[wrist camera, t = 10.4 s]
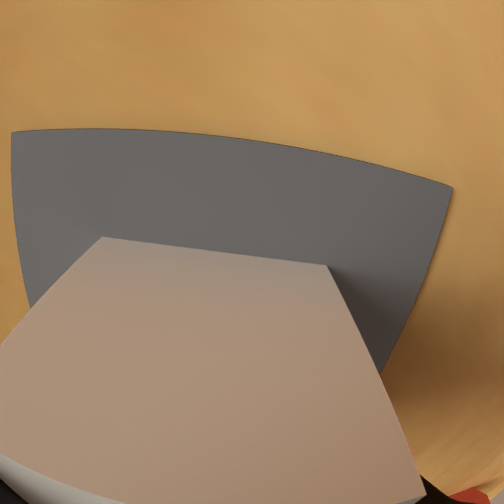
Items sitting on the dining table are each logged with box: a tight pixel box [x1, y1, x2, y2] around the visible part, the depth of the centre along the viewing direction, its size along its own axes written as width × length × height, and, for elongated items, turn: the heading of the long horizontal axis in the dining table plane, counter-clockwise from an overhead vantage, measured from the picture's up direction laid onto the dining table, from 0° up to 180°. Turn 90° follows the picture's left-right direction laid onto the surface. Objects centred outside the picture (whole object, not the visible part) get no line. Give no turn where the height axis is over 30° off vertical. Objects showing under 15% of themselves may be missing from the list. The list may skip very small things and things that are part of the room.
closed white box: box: [0, 237, 427, 504], centre depth 7 cm, size 7×7×7 cm
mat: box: [11, 129, 453, 375], centre depth 12 cm, size 24×14×1 cm, turn 172°
